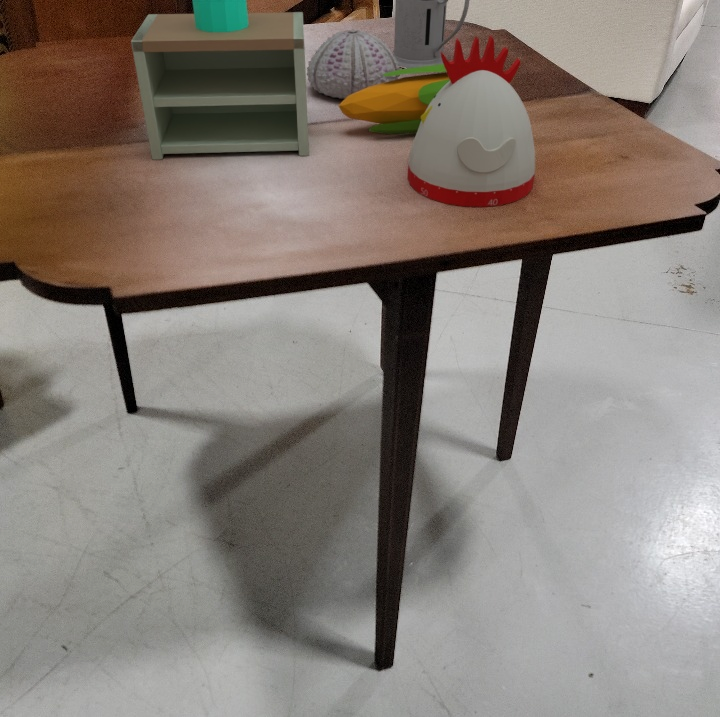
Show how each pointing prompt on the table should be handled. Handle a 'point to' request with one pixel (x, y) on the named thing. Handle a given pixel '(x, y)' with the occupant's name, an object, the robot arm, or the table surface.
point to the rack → (223, 85)
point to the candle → (220, 15)
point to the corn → (396, 100)
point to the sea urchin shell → (350, 64)
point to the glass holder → (421, 31)
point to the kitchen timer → (474, 135)
